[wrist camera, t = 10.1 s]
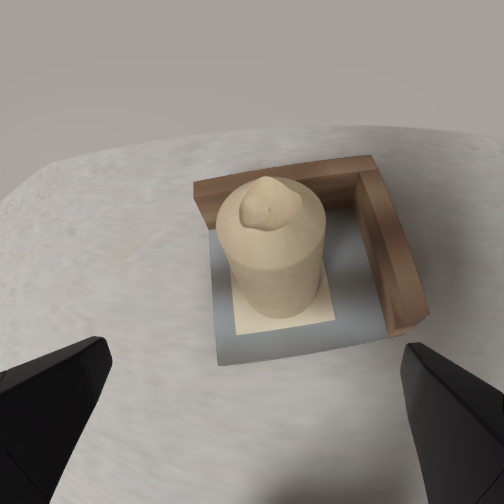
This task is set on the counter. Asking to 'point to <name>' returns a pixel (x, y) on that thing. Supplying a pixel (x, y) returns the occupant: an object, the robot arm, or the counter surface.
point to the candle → (274, 243)
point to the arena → (322, 268)
